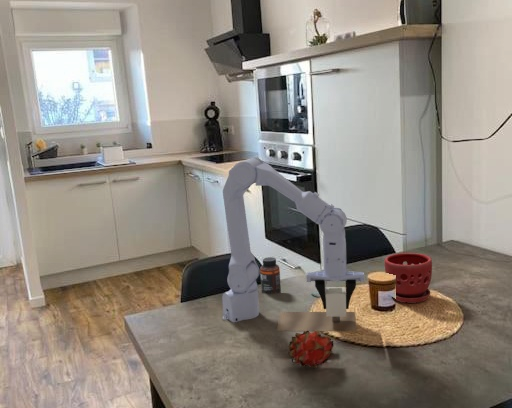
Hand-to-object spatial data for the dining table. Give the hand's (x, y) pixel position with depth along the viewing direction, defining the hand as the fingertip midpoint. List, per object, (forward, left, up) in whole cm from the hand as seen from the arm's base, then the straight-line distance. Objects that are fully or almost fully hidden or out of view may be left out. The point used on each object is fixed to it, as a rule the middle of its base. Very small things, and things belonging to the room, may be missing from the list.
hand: (335, 307), depth 137 cm
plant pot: (+29, +4, -6) cm, 30 cm away
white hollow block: (0, 0, -1) cm, 1 cm away
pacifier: (+9, +19, -6) cm, 22 cm away
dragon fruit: (-16, -12, -6) cm, 21 cm away
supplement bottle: (-2, +30, -6) cm, 31 cm away
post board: (-4, +3, -5) cm, 7 cm away
